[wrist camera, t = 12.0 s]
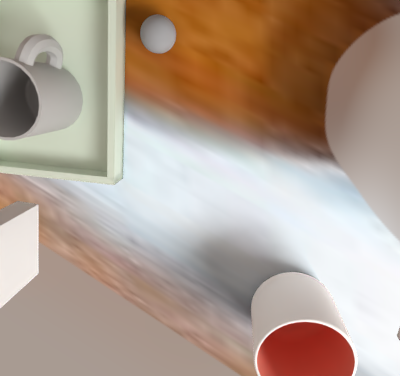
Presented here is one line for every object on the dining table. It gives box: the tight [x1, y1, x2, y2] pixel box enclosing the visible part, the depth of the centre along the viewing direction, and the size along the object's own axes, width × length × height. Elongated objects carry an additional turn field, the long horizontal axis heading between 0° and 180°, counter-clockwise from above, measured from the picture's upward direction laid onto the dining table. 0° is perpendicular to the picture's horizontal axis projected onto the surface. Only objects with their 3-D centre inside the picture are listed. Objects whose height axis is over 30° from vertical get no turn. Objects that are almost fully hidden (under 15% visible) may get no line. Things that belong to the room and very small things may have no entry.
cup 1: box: [0, 34, 83, 140], centre depth 35 cm, size 7×10×9 cm
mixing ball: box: [140, 15, 176, 53], centre depth 35 cm, size 4×4×4 cm
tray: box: [0, 0, 126, 185], centre depth 38 cm, size 20×16×3 cm
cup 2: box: [251, 272, 358, 376], centre depth 39 cm, size 10×10×10 cm
